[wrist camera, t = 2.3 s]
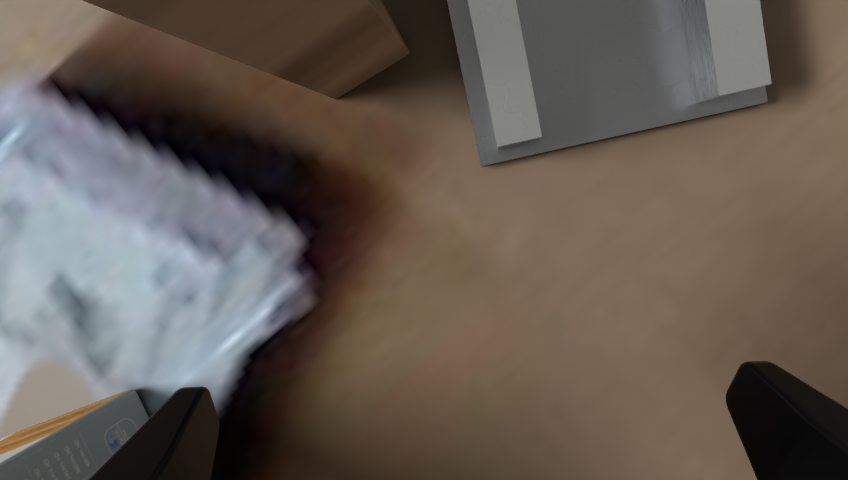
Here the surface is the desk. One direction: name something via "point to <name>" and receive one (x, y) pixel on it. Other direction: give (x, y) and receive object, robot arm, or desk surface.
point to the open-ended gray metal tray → (602, 67)
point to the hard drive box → (72, 441)
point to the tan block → (283, 35)
